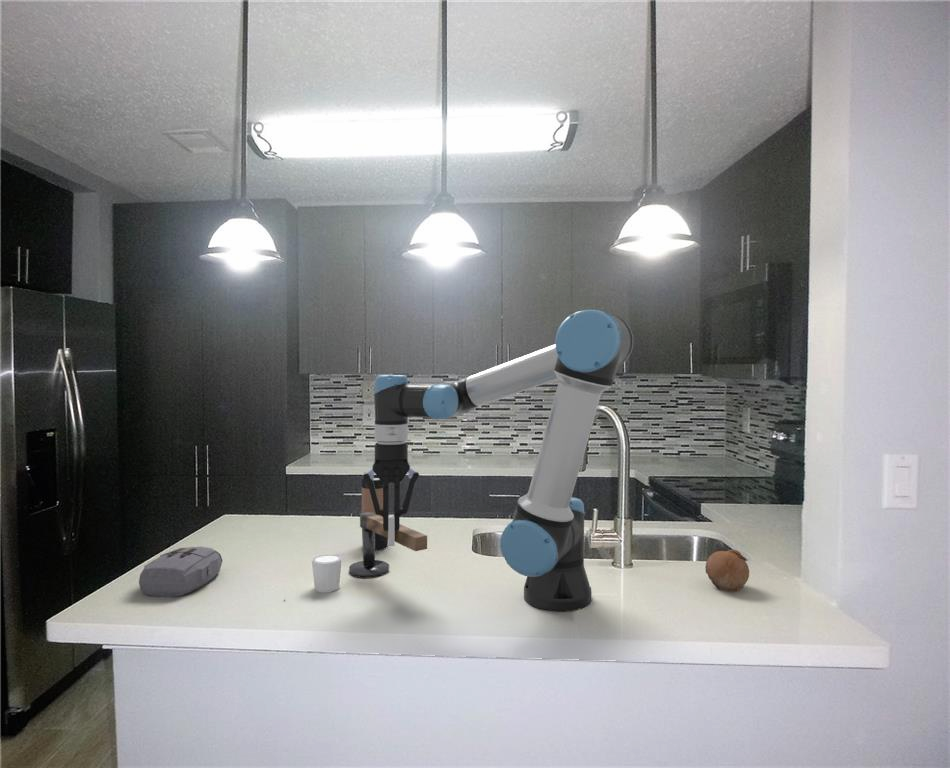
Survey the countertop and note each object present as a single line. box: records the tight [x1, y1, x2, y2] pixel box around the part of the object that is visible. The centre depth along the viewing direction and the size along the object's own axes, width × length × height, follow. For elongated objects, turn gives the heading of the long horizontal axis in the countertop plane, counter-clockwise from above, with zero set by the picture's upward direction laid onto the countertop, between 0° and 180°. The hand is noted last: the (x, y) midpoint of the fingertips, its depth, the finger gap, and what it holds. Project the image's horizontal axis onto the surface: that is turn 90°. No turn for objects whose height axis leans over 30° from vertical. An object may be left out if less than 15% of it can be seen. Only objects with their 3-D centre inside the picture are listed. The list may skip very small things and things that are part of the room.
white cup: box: [311, 554, 342, 593], centre depth 146 cm, size 7×7×7 cm
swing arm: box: [359, 512, 428, 552], centre depth 148 cm, size 27×4×3 cm, turn 37°
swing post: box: [348, 528, 390, 579], centre depth 157 cm, size 10×10×11 cm
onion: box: [705, 549, 750, 592], centre depth 145 cm, size 10×9×10 cm
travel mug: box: [361, 474, 389, 551], centre depth 177 cm, size 8×8×20 cm
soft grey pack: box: [138, 546, 223, 598], centre depth 149 cm, size 15×8×20 cm
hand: (391, 544), depth 142 cm, fingers closed
